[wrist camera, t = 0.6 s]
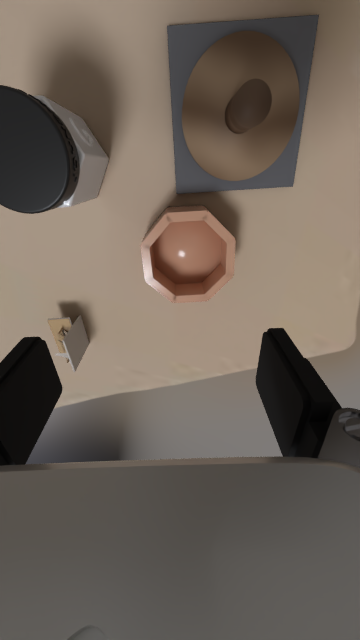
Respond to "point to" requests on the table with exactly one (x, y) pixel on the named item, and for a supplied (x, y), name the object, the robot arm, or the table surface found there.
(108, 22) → the table surface
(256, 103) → the lid
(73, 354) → the architectural model
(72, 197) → the jar
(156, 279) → the bowl
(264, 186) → the mat
